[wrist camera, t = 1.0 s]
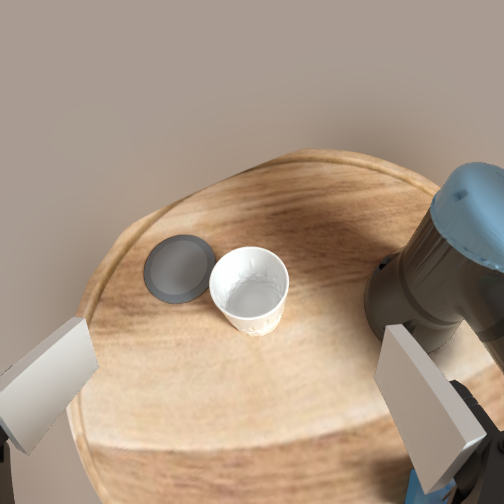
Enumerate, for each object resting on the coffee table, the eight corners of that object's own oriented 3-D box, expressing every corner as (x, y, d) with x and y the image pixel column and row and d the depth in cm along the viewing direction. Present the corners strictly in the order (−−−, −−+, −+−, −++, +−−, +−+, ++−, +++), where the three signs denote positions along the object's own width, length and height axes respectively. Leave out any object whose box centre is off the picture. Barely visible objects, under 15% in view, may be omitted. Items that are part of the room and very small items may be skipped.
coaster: (217, 234, 43) (216, 231, 42) (214, 302, 37) (213, 301, 37) (151, 239, 44) (149, 237, 43) (141, 304, 38) (139, 302, 37)
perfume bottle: (403, 506, 20) (445, 534, 9) (411, 468, 23) (459, 486, 12) (440, 496, 19) (488, 514, 9) (448, 459, 22) (501, 468, 12)
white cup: (279, 346, 34) (280, 327, 25) (219, 333, 35) (199, 309, 27) (291, 289, 37) (295, 252, 29) (234, 279, 39) (221, 241, 30)
